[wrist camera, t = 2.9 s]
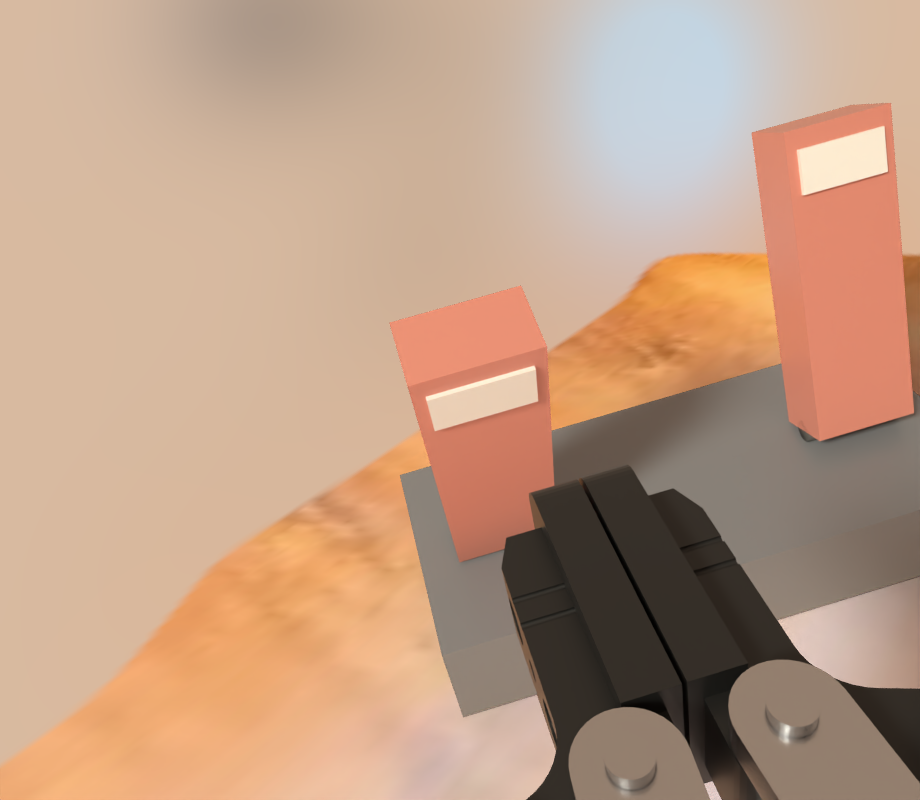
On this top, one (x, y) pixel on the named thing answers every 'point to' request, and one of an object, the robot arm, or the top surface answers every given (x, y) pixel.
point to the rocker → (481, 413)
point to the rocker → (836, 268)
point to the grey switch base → (720, 495)
